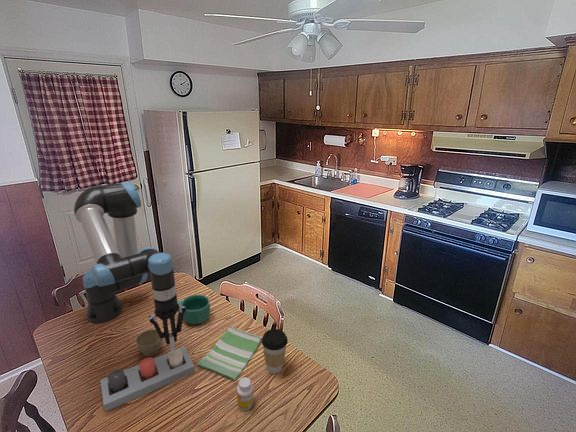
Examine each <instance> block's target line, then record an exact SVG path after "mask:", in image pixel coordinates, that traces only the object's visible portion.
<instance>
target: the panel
mask: <svg viewBox="0 0 576 432" xmlns="http://www.w3.org/2000/svg"><path fill="white" fill-rule="evenodd" d="M179 349H180V350H182V355H183V363H184V364H183V365H181V366H178V367H176V368H174V369H170V364H169V357H168V354H169V352H167V353H164V354H163V355H160V356H157V357H154V358H153V359H154V362H155V368H156V376H155V377H152V378H150V379H148V380H145V381H144V380H142V378H141V372H140V366H139V364H137V365H135V366H132V367H130V368H127V369H123V371H124V375H125V379H126V383H127V385H128V387H126V389H124V390H122V391H119V392H117V393H115V394H112V393H111V391H110V386H109V381H108V376H107V377H104V378H101V379H100V386H101V395H102V404H103V408H104V412H109V411H110V410H113V409H115V408H117V407H120V406H122V405H125V404H127V403H128V402H131V401H133V400H135V399H138V398H140V397H142V396H144V395H147V394H149V393H151V392H153V391H155V390H158V389H161V388H162V387H165V386H167V385H169V384H171V383H173V382H176V381H179V380H180V379H182V378H185V377H187V376H189V375H191V374H192V375H193V374H195V373H196V370H195V365H194V363H193V361H192V359H191V357H190V355H189V352H188V350H187V349H186V346H182V347H180V348H179ZM110 393H111V394H110Z"/></svg>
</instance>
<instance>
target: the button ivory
mask: <svg viewBox="0 0 576 432" xmlns="http://www.w3.org/2000/svg"><path fill="white" fill-rule="evenodd" d="M168 353H169V354H168V357H169V368H170V370H171V369H174V368H176V367H178V366H181V365H183V364H185V363H184V361H183V355H182V350H180V348H175V351H173V352H171V350H170V351H169V352H168Z"/></svg>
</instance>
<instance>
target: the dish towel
mask: <svg viewBox="0 0 576 432" xmlns="http://www.w3.org/2000/svg"><path fill="white" fill-rule="evenodd" d="M262 337H263V336H260V335H255V334H252V333H250V332H247V331H243V330H240V329H238V328H234V327H232V326H230V327H228V328H227V330H226V331H225V332H223V334H222V335H221V336H220V338H219V339H218V341H217V342H216V343H215V344H214V345H213V346H212V347H211V349H210V350H209V351H208V353H206V354H205V355H204V357H202V358H201V359H200V360H198V361H197V363H196V364H197V365H198V367H199V368H202V369H205V370H207V371H210V372H212V373H214V374H216V375H220V376H223V377H224V379H227V380H230V381H231V382H236V381H237V379H238V377H239V376H240V374H241V373H242V372H243V371H244V369H245V368H246V366H247V365H248V364H249V361H250V360H251V359H252V358H253V356H254V354H255V353H256V351H257V349H258V348H259V346H260V344H261V342H262Z"/></svg>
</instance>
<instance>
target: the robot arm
mask: <svg viewBox="0 0 576 432" xmlns="http://www.w3.org/2000/svg"><path fill="white" fill-rule="evenodd" d="M140 207H142V201H141V197H140V194H139V192H138V188H137V187H136V185H135V184H134V183H133V182H131V181H130V182H129V181H127V182H117V183H112V184H111V183H109V184H104V185H96V186H95V185H94V186H91V187H87V188H86V189H85V190H83V191H82V192H81V193H80V194H79V195H78V197H77V198H76V200H75V203H74V206H73V211H74V212H73V213H74V216H75V219H76V220H77V221H78V222H79V223H81V226H82V228H83V229H82V230H83V231H84V233H85V236H86V239H87V241H88V245H89V247H90V250H91V252H92V255H93V259H94V260H95V263H96V264H95V265H93V266H92V267H91V269H89V270H87V271H86V272H85V273H84V275H83V276H82V282H83V284H82V286H83V288H84V292H85V295H86V299H87V307H86V311H85V312H86V314H85V315H86V319H87V321H88V322H90V323H92V324H100V323H101V324H102V323H105V322H110V321H112V320H113V319H115V318H117V317H119V316H120V314H121V313H123V310H124V307H123V304H122V301H121V300H120V299H119V298H118V296H117V293H116V292H118V291H121V290H122V291H123V290H125V289H127V288H131V287H135V286H138V285H140V284H143V283H144V282H146V281H147V279H148V276H149V278H150V282H151V288H152V289H151V290H152V296H153V303H154V311H153V314H152V315H149V316H148V321H149V323H151V324H152V325H153V326H154V329H156V330H157V332H158V334H159V336H160V338H161V339H162V340H163V339H165V343H166V345H167V346H169V349H170V351H171V352H173V351H175V349H176V345H175V343H176V342H177V341H178V333H181V332H182V329H183V321H184V318H183V317H184V313H185V311H186V308H185V306H184V305H182V306H181V305H179V304H178V302H177V301H178V294H177V287H176V279H175V271H174V269H175V268H174V262H173V258H172V255H171V254H170V253H166V252H160V251H159V250H158V249H156V248H154V247H152V246H146V247H143V248H142V249H140V250H139V249H138V241H137V240H138V239H137V232H136V223H135V222H136V221H135V216H136V215H137V214H138V209H139V208H140ZM104 214H107V216H108V217H109V218H111V219H112V223H113V230H114V231H113V232H114V236H115V237H114V238H113V236H112V233H111V231H110V229H109V227H108V225H107V222H106V219H105V218H104ZM114 239H115V240H114ZM178 311H179V312H178ZM177 313H178V314H177ZM176 314H177V320H176V319H175V318H176V317H175V316H176ZM157 318H158V319H160V320H161V321H162V327H163V331H162V329H161V328H160V326H159V323H158V322H157ZM168 320H169V322H170V331H171V332H169V323H168Z"/></svg>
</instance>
